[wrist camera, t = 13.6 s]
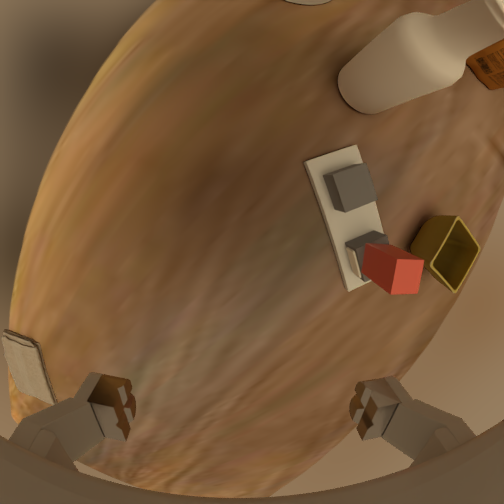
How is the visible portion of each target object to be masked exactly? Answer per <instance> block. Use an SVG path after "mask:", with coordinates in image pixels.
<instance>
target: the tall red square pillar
mask: <svg viewBox="0 0 504 504" xmlns="http://www.w3.org/2000/svg"><path fill="white" fill-rule="evenodd" d="M423 265H424V260H423V259H421V258H419V257H417V256H415V255H412V254H410V253H408V252H406V251H404V250H401V249H399V248H397V247H395V246H393V245H389V244H373V243H366V244H365V251H364V258H363V265H362V271H361V273H363V274H364V275H365V276H367V277H368V278H369V279H371V280H372V281H373V282H375V283H376V284H377V285H379V286H380V287H381V288H383V289H384V290H385V291H387V292H388V293H389V294H417V293H418V289H419V284H420V279H421V275H422V270H423Z"/></svg>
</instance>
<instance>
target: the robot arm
mask: <svg viewBox="0 0 504 504" xmlns="http://www.w3.org/2000/svg"><path fill="white" fill-rule="evenodd" d="M286 1H289V2H293V3H298V4H306V5H316V4H323V3H326V2H329V1H331V0H286ZM131 390H132V385H131V381H130V380H129V379H125V378H120V377H115V376H110V375H105V374H104V375H103V374H99V373H95V372H91V373H89V375H88V376H87V378H86V379H85V381H84V382H83V384H82V385H81V387H80V389H79V390H78V392H77V393H76V395H75V396H74V398H68V399H66V400H64V401H61V402H59V403H57V404H55V405H53V406H51V407H48V408H46V409H44V410H42V411H40V412H37V413H35V414H33V415H31V416H28V417H26V418H24V419H22V421H21V422H20V424H19V425H18V427H17V428H16V430H15V431H14V433H13V434H12V436H11V437H10V439H9V440H7V439H5V438H4V437H2V436H0V504H504V420H502V421H501V422H499V423H498V424H496V425H495V426H493V427H491V428H490V429H488V430H486V431H485V432H483V433H481V434H480V435H478V436H476V435H475V434H474V433H473V432H472V430H471V429H470V428H469V427H468V426H467V424H466V423H465V422H464V421H463V420H462V418H459V417H457V416H454V415H452V414H450V413H447V412H445V411H442V410H440V409H437V408H435V407H433V406H431V405H428V404H426V403H424V402H421V401H419V400H416V399H415V400H413V399H412V398H411V396H410V395H409V394H408V392H407V391H406V390H405V389H404V387H403V386H402V385H401V383H400V382H399V381H398V380H397V378H396V377H394V376H389V377H384V378H379V379H373V380H367V381H360V382H358V383H357V384H356V387H355V391H356V393H357V394H356V395H355V396H353V397H352V398H351V402H350V406H349V412H350V416H351V418H352V420H353V421H354V422H356V423H357V424H358V426H357V431H358V433H359V435H360V437H361V439H362V440H368V439H373V438H378V437H382V438H383V439H384V440H386V441H387V442H389V443H390V444H391V445H393V446H395V447H396V448H397V449H399V450H400V451H402V452H403V453H404V454H406V455H408V456H409V457H410V458H412V459H413V460H414V462H413V463H412V464H411V465H410V467H409V468H407V469H404V470H401V471H398V472H395V473H392V474H389V475H386V476H383V477H380V478H376V479H373V480H369V481H365V482H362V483H358V484H353V485H349V486H345V487H340V488H335V489H330V490H325V491H319V492H312V493H306V494H299V495H289V496H278V497H263V498H212V497H197V496H186V495H177V494H170V493H163V492H157V491H151V490H145V489H140V488H135V487H131V486H126V485H122V484H118V483H114V482H111V481H106V480H103V479H100V478H96V477H93V476H90V475H87V474H84V473H81V472H79V471H78V469H77V468H76V466H75V465H74V463H73V462H74V461H76V460H77V459H78V458H80V457H81V456H82V455H84V454H85V453H86V452H88V451H89V450H90V449H92V448H93V447H94V446H95V445H97V444H98V443H99V442H101V441H102V440H103V439H104V437H106V438H110V439H115V440H120V441H125V442H126V440H127V438H128V435H129V432H130V425H129V423H130V422H131V421H133V420H134V417H135V413H136V401H135V397H134V396H133V395H132V394H131V393H130V392H131Z"/></svg>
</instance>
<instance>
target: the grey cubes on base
mask: <svg viewBox="0 0 504 504" xmlns="http://www.w3.org/2000/svg"><path fill="white" fill-rule="evenodd" d="M303 163H304V165H305V168H306V170H307V173H308V176H309V179H310V181H311V184H312V187H313V189H314V192H315V195H316V198H317V201H318V203H319V206H320V209H321V212H322V215H323V218H324V221H325V224H326V227H327V230H328V233H329V236H330V239H331V243H332V246H333V249H334V252H335V255H336V259H337V262H338V265H339V269H340V272H341V276H342V279H343V283H344V286H345V289H346V290H347V291H348V292H349V291H351V290H353V289H355V288H358V287H360V286H362V285H364V284H366V283H368V282H370V281H372V280H371V279H369V278H368V277H367V276H365V275H364V274H363V273H361V271H362V265H363V258H364V251H365V244H366V243H373V244H389V241H388V237H387V235H385V234H384V233H383V229H382V225H381V221H380V217H379V214H378V210H377V206H376V203H375V201H376V200H378V199H377V195H376V192H375V189H374V185H373V182H372V179H371V176H370V173H369V170H368V167H367V164H366V163H363V162H362V159H361V156H360V153H359V150H358V148H357V145H353V146H350V147H347V148H344V149H341V150H338V151H335V152H332V153H329V154H326V155H323V156H320V157H317V158H314V159H311V160H308V161H305V162H303Z"/></svg>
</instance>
